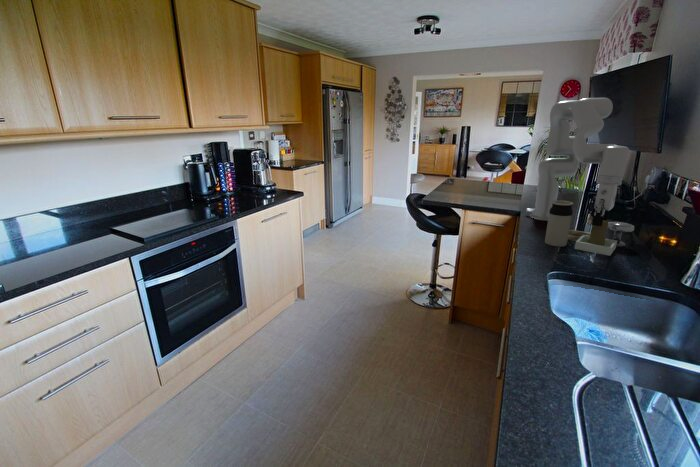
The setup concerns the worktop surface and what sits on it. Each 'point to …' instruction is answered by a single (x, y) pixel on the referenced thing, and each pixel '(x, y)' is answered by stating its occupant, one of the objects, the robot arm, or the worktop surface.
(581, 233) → the socket
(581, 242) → the tray
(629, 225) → the grey pedestal stand
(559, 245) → the travel mug
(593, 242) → the brown rounded lump
